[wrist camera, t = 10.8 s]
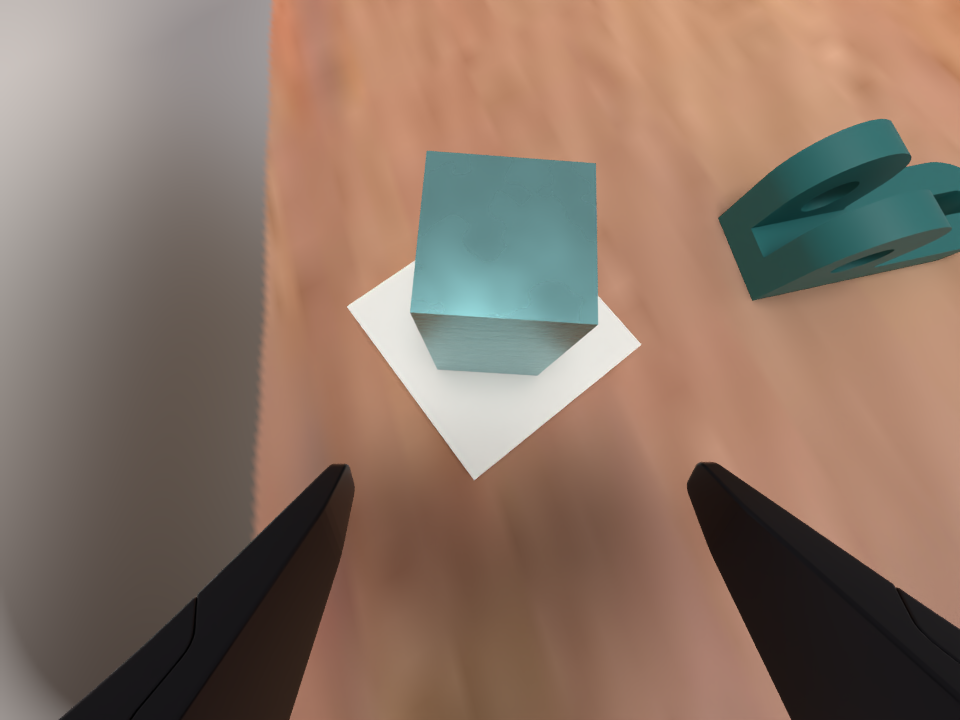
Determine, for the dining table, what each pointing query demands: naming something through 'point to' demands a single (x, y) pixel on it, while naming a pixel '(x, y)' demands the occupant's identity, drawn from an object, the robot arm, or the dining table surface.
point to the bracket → (843, 213)
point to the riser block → (484, 377)
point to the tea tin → (505, 261)
